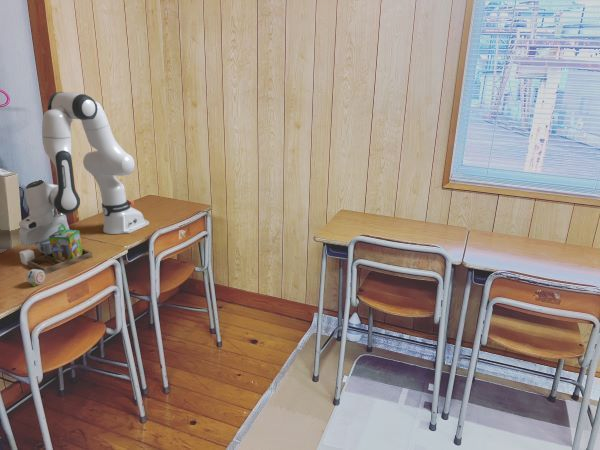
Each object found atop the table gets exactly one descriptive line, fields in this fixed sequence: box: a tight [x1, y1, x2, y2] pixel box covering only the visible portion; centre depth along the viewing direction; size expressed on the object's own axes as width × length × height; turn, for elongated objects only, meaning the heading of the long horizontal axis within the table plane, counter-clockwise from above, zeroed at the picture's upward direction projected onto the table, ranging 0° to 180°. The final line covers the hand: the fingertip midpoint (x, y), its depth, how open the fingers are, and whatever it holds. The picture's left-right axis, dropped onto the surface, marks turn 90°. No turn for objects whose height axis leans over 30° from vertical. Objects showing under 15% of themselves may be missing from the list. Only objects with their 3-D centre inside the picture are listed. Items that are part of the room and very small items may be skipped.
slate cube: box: [38, 239, 52, 255], centre depth 218 cm, size 5×5×5 cm
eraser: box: [18, 248, 36, 266], centre depth 210 cm, size 4×4×5 cm
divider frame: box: [27, 248, 93, 275], centre depth 211 cm, size 21×14×2 cm, turn 144°
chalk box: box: [49, 224, 84, 262], centre depth 211 cm, size 9×9×15 cm
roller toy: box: [26, 268, 46, 287], centre depth 191 cm, size 4×6×6 cm
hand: (48, 248), depth 218 cm, fingers closed on slate cube, 5 cm apart
